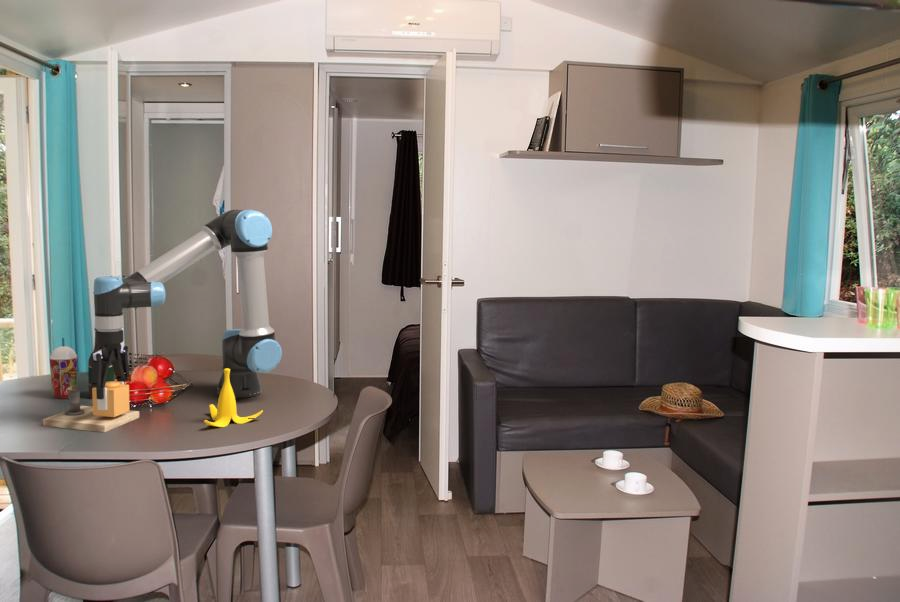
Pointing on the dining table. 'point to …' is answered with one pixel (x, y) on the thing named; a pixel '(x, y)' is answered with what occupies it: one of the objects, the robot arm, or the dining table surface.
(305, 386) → the dining table surface
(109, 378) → the beer bottle
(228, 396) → the banana peel
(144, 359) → the gray wire basket
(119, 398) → the orange cube with nub
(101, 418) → the board
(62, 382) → the smoothie
